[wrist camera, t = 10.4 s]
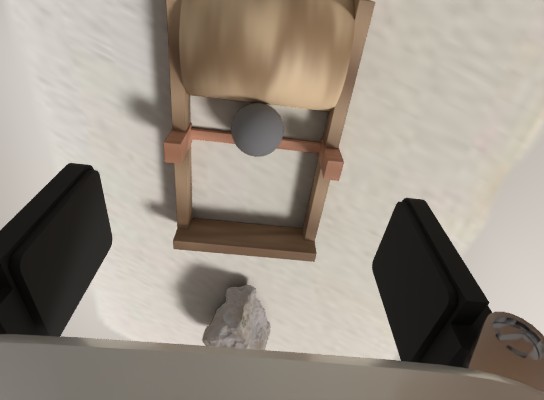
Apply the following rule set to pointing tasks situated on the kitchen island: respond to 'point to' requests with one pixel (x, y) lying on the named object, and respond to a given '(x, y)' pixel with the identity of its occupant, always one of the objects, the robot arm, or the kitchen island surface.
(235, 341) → the stone
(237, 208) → the kitchen island surface
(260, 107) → the ball
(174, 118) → the wooden roller rack
